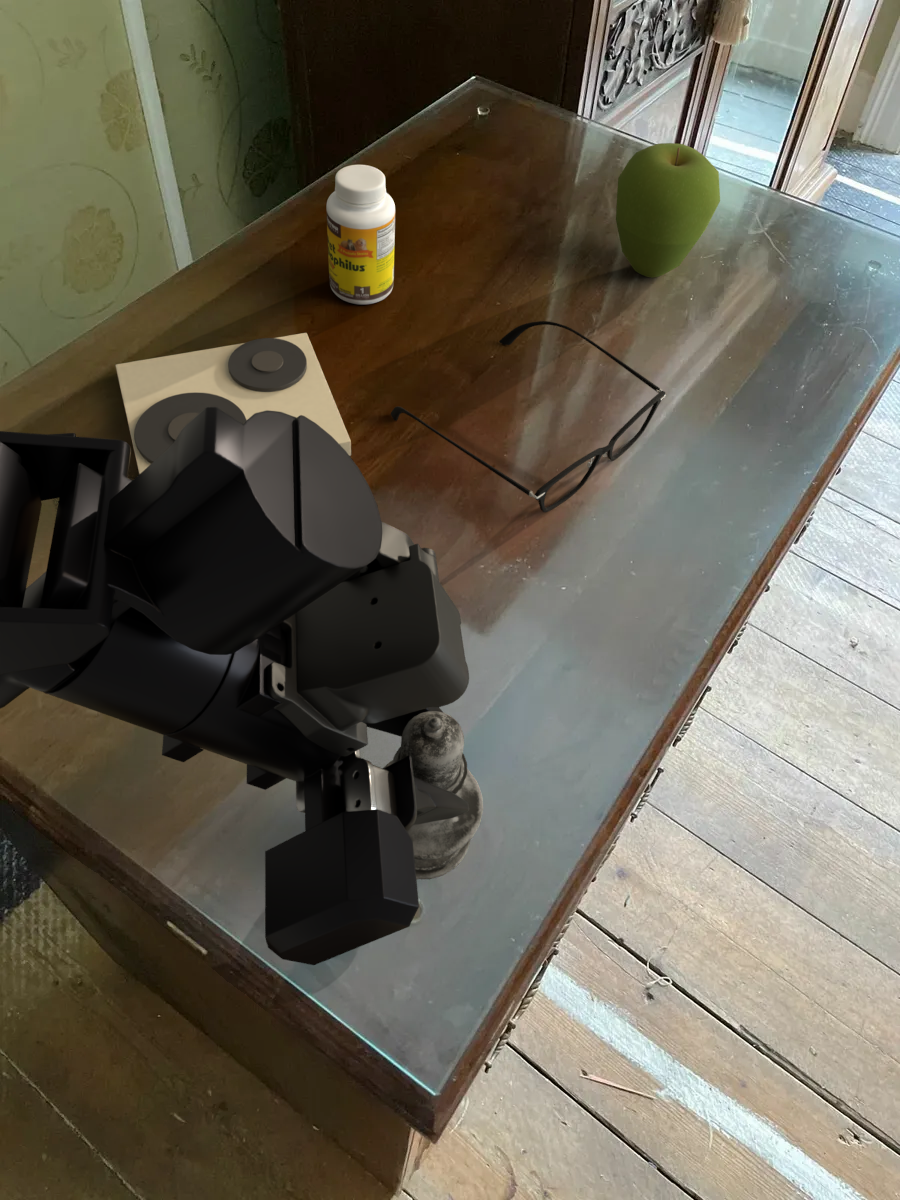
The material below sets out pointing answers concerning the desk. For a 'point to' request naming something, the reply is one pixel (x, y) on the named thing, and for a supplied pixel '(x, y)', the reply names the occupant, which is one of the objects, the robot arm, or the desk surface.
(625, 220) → the apple
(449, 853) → the pewter sugar caster
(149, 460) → the stove
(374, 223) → the supplement bottle
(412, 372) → the desk surface
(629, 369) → the eyeglasses
